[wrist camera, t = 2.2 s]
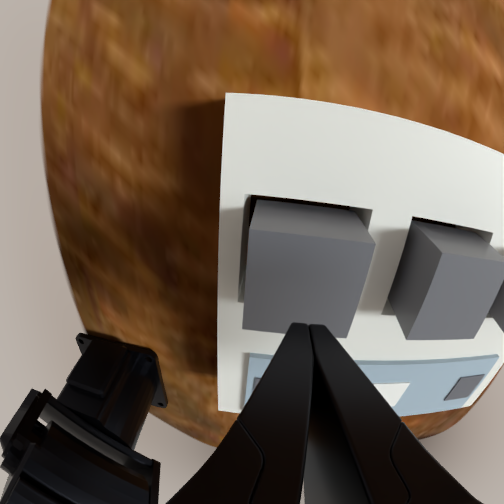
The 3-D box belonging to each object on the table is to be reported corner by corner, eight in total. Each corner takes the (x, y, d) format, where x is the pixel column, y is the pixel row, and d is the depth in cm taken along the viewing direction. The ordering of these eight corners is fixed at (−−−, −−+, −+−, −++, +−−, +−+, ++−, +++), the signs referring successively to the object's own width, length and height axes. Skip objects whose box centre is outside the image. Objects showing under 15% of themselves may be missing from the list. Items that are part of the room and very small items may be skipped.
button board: (458, 377, 17) (472, 409, 14) (226, 373, 18) (217, 415, 15) (545, 178, 10) (582, 197, 7) (238, 97, 11) (223, 92, 8)
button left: (335, 292, 12) (346, 338, 10) (250, 283, 12) (242, 329, 10) (354, 211, 10) (375, 243, 8) (257, 199, 11) (249, 229, 8)
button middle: (449, 300, 12) (473, 338, 9) (386, 296, 12) (406, 340, 9) (475, 232, 10) (510, 263, 8) (410, 219, 10) (442, 252, 8)
